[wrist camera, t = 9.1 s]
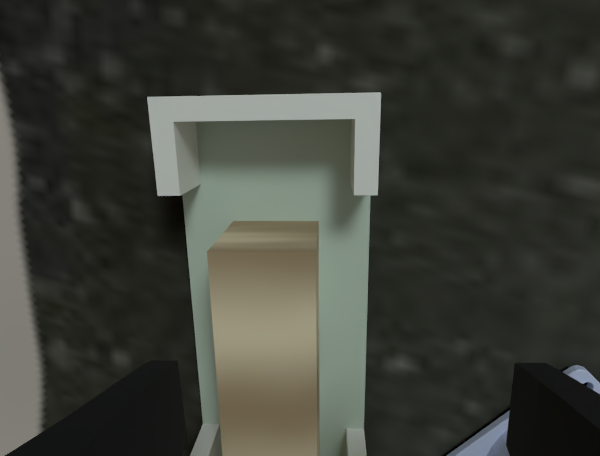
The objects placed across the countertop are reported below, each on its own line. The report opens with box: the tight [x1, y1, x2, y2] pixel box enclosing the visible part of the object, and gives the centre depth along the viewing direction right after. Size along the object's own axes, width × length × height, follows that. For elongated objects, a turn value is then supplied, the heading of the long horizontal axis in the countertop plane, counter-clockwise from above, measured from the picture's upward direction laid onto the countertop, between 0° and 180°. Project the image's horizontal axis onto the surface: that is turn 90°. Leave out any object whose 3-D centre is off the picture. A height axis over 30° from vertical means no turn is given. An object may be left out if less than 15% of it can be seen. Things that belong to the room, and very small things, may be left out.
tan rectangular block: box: [207, 221, 320, 456], centre depth 17 cm, size 12×4×4 cm, turn 1°
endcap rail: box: [147, 93, 381, 456], centre depth 16 cm, size 18×8×7 cm, turn 1°
